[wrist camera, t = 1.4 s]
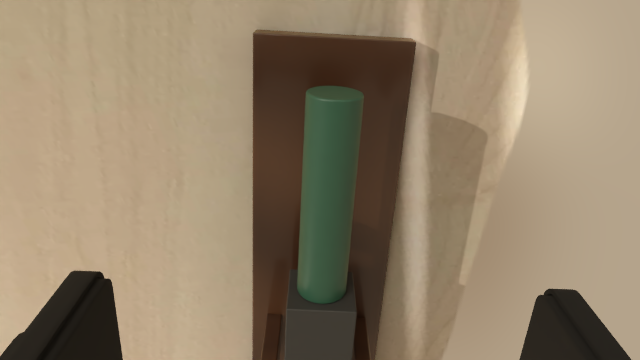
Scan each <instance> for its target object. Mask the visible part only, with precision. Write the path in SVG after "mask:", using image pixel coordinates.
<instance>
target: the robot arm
mask: <svg viewBox="0 0 640 360" xmlns="http://www.w3.org/2000/svg"><path fill="white" fill-rule="evenodd" d="M0 360H123V358H122V351H121V344H120V337H119V329H118V322H117V315H116V308H115V301H114V293H113V286H112V282H111V280H110V279H104V276H103V274H102V273H101V272H95V271H72V272H71V273H70V274H69V275H68V276H67V278H66V279H65V280H64V281H63V283H62V284H61V285H60V287H59V288H58V289H57V290H56V292H55V293H54V294H53V296H52V297H51V298H50V299H49V301H48V302H47V303H46V305H45V306H44V307H43V308H42V310H41V311H40V312H39V314H38V315H37V316H36V317H35V319H34V320H33V321H32V323H31V324H30V325H29V326H28V328H27V329H26V330H25V332H23V333H21V334H19V335H18V336H17V337H16V338H15V339H14V340H13V341H12V342H11V343H10V345H9V346H8V347H7V349H6V350H5V351H4V352H3V354H2V355H1V356H0ZM520 360H631V359H630V357H629V356H628V355H627V354H626V352H625V351H624V350H623V348H622V347H621V346H620V345H619V343H618V342H617V341H616V339H615V338H614V337H613V336H612V335H611V333H610V332H609V331H608V329H607V328H606V327H605V325H604V324H603V323H602V322H601V320H600V319H599V318H598V317H597V315H596V314H595V313H594V311H593V310H592V309H591V308H590V306H589V305H588V304H587V302H586V301H585V300H584V299H583V297H582V296H581V295H580V294H579V293H578V292H577V291H576V290H567V289H548V290H546V291H545V293H544V295H539V296H538V297H537V299H536V302H535V305H534V309H533V312H532V316H531V320H530V324H529V327H528V331H527V335H526V338H525V342H524V345H523V349H522V353H521V356H520Z"/></svg>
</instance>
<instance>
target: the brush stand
mask: <svg viewBox="0 0 640 360" xmlns="http://www.w3.org/2000/svg"><path fill="white" fill-rule="evenodd" d="M415 46H416V42H415V41H414V40H413V39H410V38H392V37H375V36H357V35H340V34H322V33H305V32H287V31H270V30H256V31H255V32H254V33H253V360H284V356H285V328H286V306H287V295H288V284H289V273H290V270H291V269H294V270H298V254H299V232H300V210H301V188H302V165H303V143H304V121H305V98H306V91H307V90H308V89H310V88H313V87H317V86H341V87H348V88H352V89H355V90H358V91H360V92H362V93H363V95H364V103H363V114H362V125H361V135H360V146H359V157H358V168H357V178H356V189H355V200H354V211H353V221H352V232H351V243H350V253H349V264H348V272H352V273H353V281H354V290H355V299H356V309H357V317H356V326H355V335H354V345H353V354H352V360H375V354H376V346H377V338H378V331H379V323H380V315H381V308H382V300H383V292H384V285H385V277H386V269H387V262H388V254H389V246H390V239H391V231H392V223H393V215H394V208H395V200H396V192H397V185H398V177H399V169H400V162H401V154H402V146H403V139H404V131H405V123H406V116H407V108H408V100H409V93H410V85H411V77H412V69H413V62H414V54H415Z"/></svg>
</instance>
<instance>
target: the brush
mask: <svg viewBox="0 0 640 360" xmlns="http://www.w3.org/2000/svg"><path fill="white" fill-rule="evenodd" d="M363 103H364V95H363V93H362V92H360V91H358V90H355V89H352V88H348V87H341V86H317V87H313V88H310V89H308V90H307V91H306V98H305V121H304V143H303V165H302V188H301V210H300V232H299V254H298V270H294V269H291V270H290V273H289V284H288V295H287V306H286V328H285V356H284V360H352V354H353V345H354V335H355V326H356V317H357V309H356V299H355V290H354V281H353V273H352V272H348V264H349V253H350V243H351V232H352V221H353V211H354V200H355V189H356V178H357V168H358V157H359V146H360V135H361V125H362V114H363Z"/></svg>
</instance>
